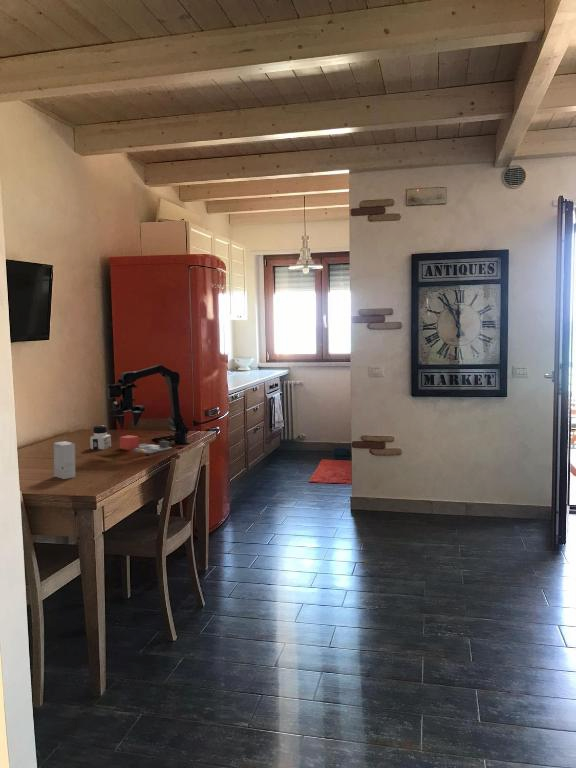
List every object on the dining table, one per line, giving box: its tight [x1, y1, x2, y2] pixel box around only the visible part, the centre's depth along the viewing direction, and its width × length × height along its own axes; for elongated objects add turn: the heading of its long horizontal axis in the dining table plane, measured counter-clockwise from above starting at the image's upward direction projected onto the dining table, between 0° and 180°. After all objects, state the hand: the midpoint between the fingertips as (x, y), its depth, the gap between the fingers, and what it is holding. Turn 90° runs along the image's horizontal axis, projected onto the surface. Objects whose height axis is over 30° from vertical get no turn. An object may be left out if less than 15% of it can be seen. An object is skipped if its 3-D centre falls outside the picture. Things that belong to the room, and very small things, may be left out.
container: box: [89, 424, 112, 450], centre depth 322 cm, size 8×8×13 cm
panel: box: [123, 443, 174, 457], centre depth 319 cm, size 16×22×2 cm
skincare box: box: [53, 440, 76, 480], centre depth 266 cm, size 8×6×15 cm
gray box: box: [158, 440, 170, 448], centre depth 319 cm, size 3×4×3 cm
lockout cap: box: [119, 434, 140, 451], centre depth 319 cm, size 6×7×6 cm
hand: (128, 427), depth 318 cm, fingers open, 8 cm apart
